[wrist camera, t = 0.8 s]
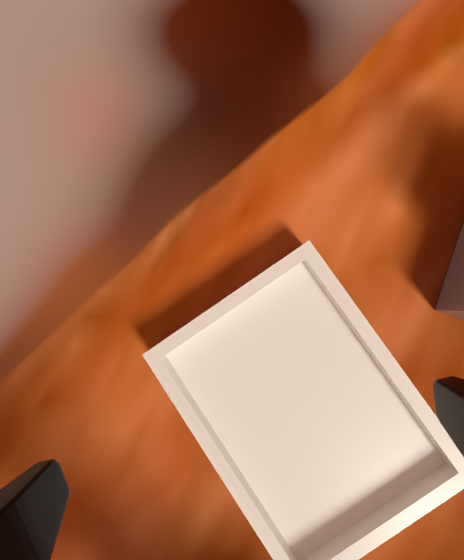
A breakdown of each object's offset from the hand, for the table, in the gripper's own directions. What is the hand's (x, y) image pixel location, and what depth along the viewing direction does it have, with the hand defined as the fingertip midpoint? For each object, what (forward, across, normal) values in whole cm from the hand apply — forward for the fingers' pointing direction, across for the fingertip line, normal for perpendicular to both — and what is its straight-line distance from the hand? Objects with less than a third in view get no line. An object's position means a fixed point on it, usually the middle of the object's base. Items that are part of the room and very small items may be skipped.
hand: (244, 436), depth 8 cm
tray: (+12, -2, +8) cm, 15 cm away
